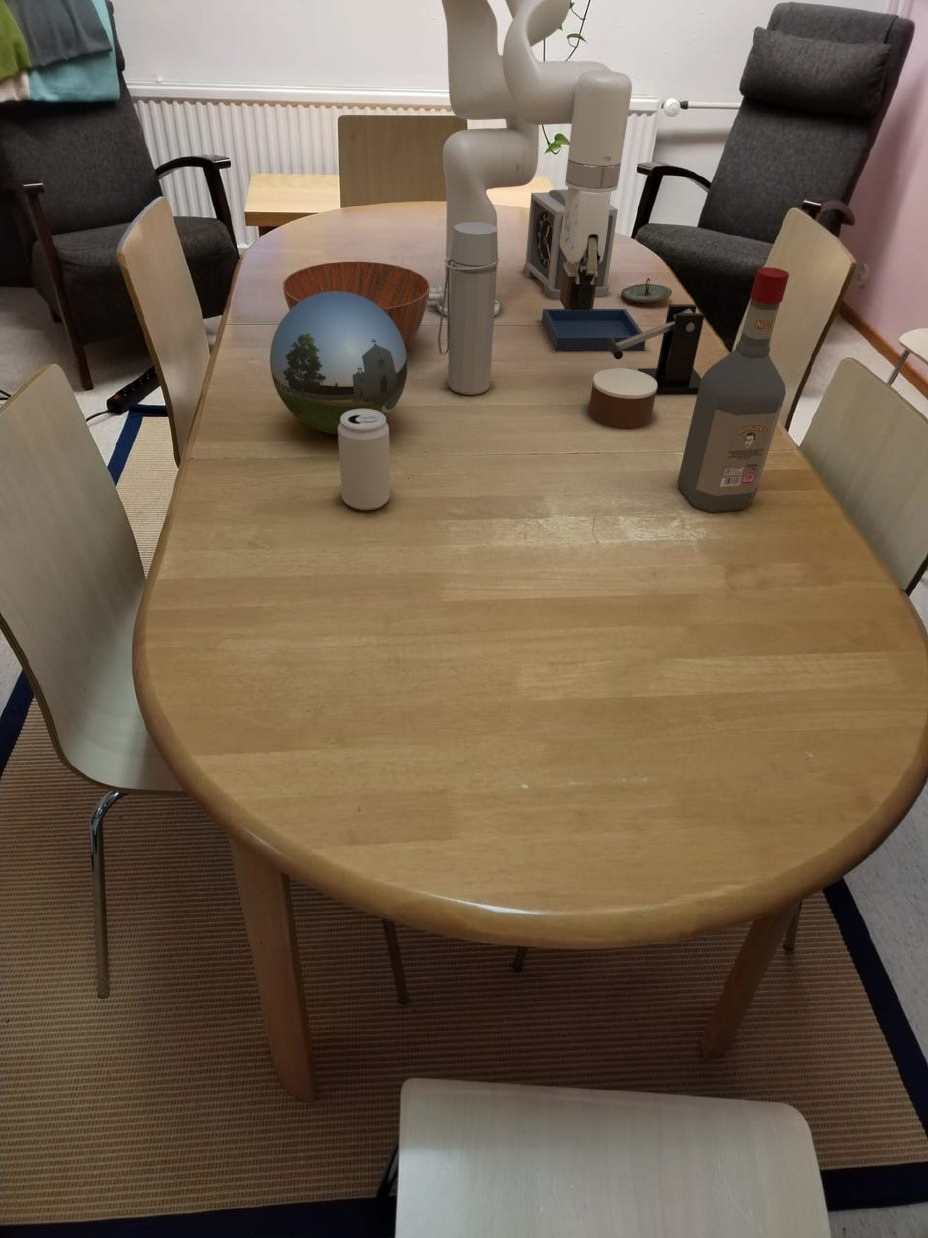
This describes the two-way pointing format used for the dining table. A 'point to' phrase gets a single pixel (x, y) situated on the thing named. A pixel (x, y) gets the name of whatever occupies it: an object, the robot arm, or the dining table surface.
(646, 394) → the cake
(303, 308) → the decorative sphere
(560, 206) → the alarm clock
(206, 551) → the dining table surface
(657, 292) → the lid
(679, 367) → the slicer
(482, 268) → the water bottle
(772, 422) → the liquor
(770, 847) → the dining table surface
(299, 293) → the bowl
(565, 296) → the cake slice
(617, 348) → the lever
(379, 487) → the beverage can
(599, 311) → the tray
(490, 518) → the dining table surface
